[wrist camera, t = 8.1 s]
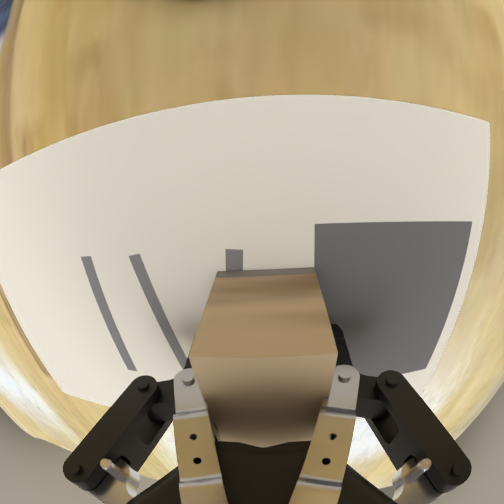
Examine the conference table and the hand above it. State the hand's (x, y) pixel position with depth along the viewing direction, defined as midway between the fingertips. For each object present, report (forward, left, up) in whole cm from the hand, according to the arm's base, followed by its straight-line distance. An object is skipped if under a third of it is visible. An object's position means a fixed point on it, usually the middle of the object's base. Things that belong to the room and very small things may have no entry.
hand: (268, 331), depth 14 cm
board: (0, -5, -2) cm, 5 cm away
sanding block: (0, 0, 0) cm, 0 cm away
